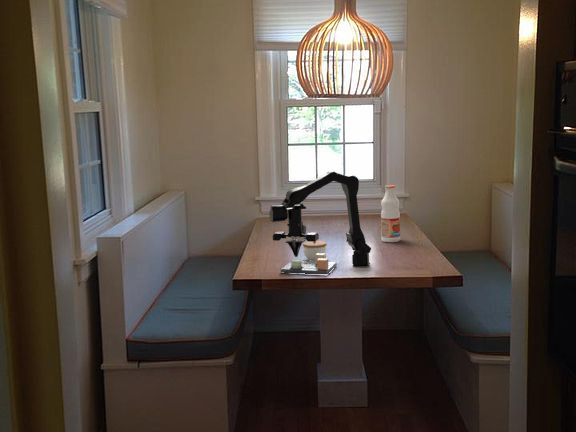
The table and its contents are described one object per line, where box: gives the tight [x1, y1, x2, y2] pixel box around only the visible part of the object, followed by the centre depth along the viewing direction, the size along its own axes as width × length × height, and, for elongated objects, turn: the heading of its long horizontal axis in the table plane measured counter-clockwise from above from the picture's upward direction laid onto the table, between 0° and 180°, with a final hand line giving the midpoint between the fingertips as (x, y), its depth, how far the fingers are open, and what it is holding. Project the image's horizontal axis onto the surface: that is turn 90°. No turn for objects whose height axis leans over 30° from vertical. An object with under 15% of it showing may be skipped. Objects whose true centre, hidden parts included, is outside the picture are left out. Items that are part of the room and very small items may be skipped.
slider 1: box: [315, 253, 327, 264], centre depth 293 cm, size 4×3×4 cm
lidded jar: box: [302, 240, 327, 261], centre depth 309 cm, size 11×11×9 cm
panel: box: [280, 260, 338, 275], centre depth 291 cm, size 20×16×2 cm
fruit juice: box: [380, 184, 401, 243], centre depth 343 cm, size 9×9×28 cm
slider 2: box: [317, 257, 329, 270], centre depth 283 cm, size 4×3×4 cm
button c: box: [290, 259, 303, 269], centre depth 287 cm, size 4×4×3 cm
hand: (296, 256), depth 287 cm, fingers closed
